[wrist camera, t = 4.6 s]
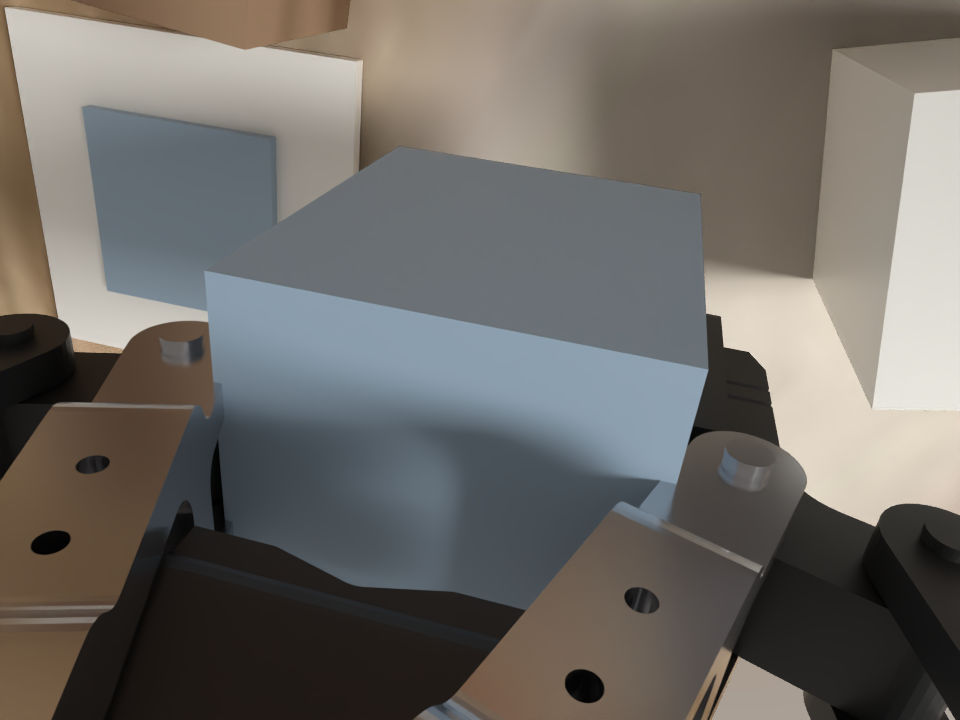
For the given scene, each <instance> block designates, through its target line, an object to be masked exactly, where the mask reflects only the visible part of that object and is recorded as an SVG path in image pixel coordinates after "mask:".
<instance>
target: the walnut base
mask: <svg viewBox="0 0 960 720" xmlns="http://www.w3.org/2000/svg"><path fill="white" fill-rule="evenodd" d="M73 1H76V2H80V3H83V4H87V5H90V6H94V7H97V8H101V9H104V10H108V11H111V12H115V13H118V14H122V15H125V16H129V17H132V18H135V19H139V20H142V21H146V22H149V23H153V24H156V25H160V26H163V27H167V28H170V29H174V30H177V31H181V32H184V33H188V34H191V35H195V36H198V37H202V38H205V39H209V40H212V41H216V42H219V43H222V44H226V45H229V46H233V47H236V48H240V49H243V50H247V49H252V48H256V47H261V46H266V45H270V44H275V43H280V42H284V41H289V40H294V39H298V38H303V37H307V36H312V35H317V34H321V33H326V32H331V31H335V30H340V29H345V28H347V23H348V15H349V7H350V0H73Z"/></svg>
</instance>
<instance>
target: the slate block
mask: <svg viewBox="0 0 960 720" xmlns="http://www.w3.org/2000/svg"><path fill="white" fill-rule="evenodd" d="M204 276H205V288H206V300H207V312H208V324H209V336H210V348H211V360H212V372H213V382H217V383H222V391H223V404H224V417H225V418H224V422H223V425H222V428H221V431H220V434H219V437H218V444H219V456H220V468H221V480H222V492H223V504H224V516H225V520H228V521H232V522H233V533H234V536H238V537H242V538H246V539H250V540H254V541H257V542H261V543H265V544H269V545H273V546H277V547H279V548H280V549H282V550H284V551H286V552H288V553H290V554H292V555H294V556H296V557H298V558H300V559H302V560H304V561H306V562H308V563H309V564H311V565H313V566H315V567H317V568H319V569H321V570H323V571H325V572H327V573H329V574H331V575H333V576H335V577H337V578H338V579H340V580H342V581H344V582H346V583H349V584H351V585H355V586H361V587H375V588H394V589H413V590H431V591H450V592H457V593H461V594H465V595H469V596H473V597H477V598H480V599H484V600H488V601H492V602H496V603H500V604H504V605H508V606H512V607H516V608H520V609H523V610H527V609H528V608H529V607H530V605H531V604H532V603H533V602H534V601H535V599H536V598H537V597H538V596H539V595H540V594H541V592H542V591H543V590H544V589H545V588H546V586H547V585H548V584H549V583H550V582H551V581H552V579H553V578H554V577H555V576H556V575H557V573H558V572H559V571H560V570H561V569H562V568H563V566H564V565H565V564H566V563H567V562H568V560H569V559H570V558H571V557H572V556H573V555H574V553H575V552H576V551H577V550H578V549H579V547H580V546H581V545H582V544H583V543H584V542H585V540H586V539H587V538H588V537H589V536H590V534H591V533H592V532H593V531H594V530H595V529H596V527H597V526H598V525H599V524H600V523H601V521H602V520H603V519H604V518H605V517H606V516H607V514H608V513H609V512H610V511H611V510H612V509H613V508H614V507H615V505H617V504H618V503H619V502H622V501H623V502H626V503H628V504H631V505H633V506H635V507H637V508H639V507H640V506H641V504H642V503H643V502H644V501H645V499H646V498H647V497H648V496H649V494H650V493H651V492H652V491H653V489H654V488H655V487H656V486H657V484H658V483H659V482H660V481H665V482H669V483H674V484H677V481H678V477H679V474H680V470H681V466H682V463H683V459H684V456H685V452H686V448H687V445H688V441H689V438H690V434H691V430H692V427H693V423H694V420H695V416H696V412H697V409H698V405H699V402H700V398H701V395H702V391H703V387H704V384H705V380H706V377H707V373H708V349H707V327H706V305H705V283H704V260H703V238H702V216H701V194H697V193H690V192H684V191H678V190H672V189H665V188H659V187H653V186H647V185H640V184H634V183H628V182H622V181H615V180H609V179H603V178H597V177H590V176H584V175H578V174H572V173H565V172H559V171H553V170H547V169H540V168H534V167H528V166H522V165H515V164H509V163H503V162H497V161H490V160H484V159H478V158H472V157H465V156H459V155H453V154H447V153H440V152H434V151H428V150H422V149H415V148H409V147H403V146H398V147H397V148H395V149H394V150H392V151H391V152H389V153H387V154H386V155H384V156H383V157H381V158H380V159H378V160H376V161H375V162H373V163H372V164H370V165H369V166H367V167H366V168H364V169H362V170H361V171H359V172H358V173H356V174H355V175H353V176H351V177H350V178H348V179H347V180H345V181H344V182H342V183H340V184H339V185H337V186H336V187H334V188H333V189H331V190H329V191H328V192H326V193H325V194H323V195H322V196H320V197H319V198H317V199H315V200H314V201H312V202H311V203H309V204H308V205H306V206H304V207H303V208H301V209H300V210H298V211H297V212H295V213H293V214H292V215H290V216H289V217H287V218H286V219H284V220H282V221H281V222H279V223H278V224H276V225H275V226H273V227H272V228H270V229H268V230H267V231H265V232H264V233H262V234H261V235H259V236H257V237H256V238H254V239H253V240H251V241H250V242H248V243H246V244H245V245H243V246H242V247H240V248H239V249H237V250H235V251H234V252H232V253H231V254H229V255H228V256H226V257H225V258H223V259H221V260H220V261H218V262H217V263H215V264H214V265H212V266H210V267H209V268H207V269H206V270H204Z"/></svg>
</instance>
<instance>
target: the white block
mask: <svg viewBox="0 0 960 720" xmlns="http://www.w3.org/2000/svg"><path fill="white" fill-rule="evenodd" d="M813 281H814V283H815V285H816V287H817V290H818V292H819V294H820V296H821V298H822V301H823V303H824V305H825V307H826V309H827V312H828V314H829V316H830V318H831V320H832V323H833V325H834V327H835V329H836V331H837V334H838V336H839V338H840V340H841V342H842V344H843V347H844V349H845V351H846V353H847V355H848V358H849V360H850V362H851V364H852V366H853V369H854V371H855V373H856V375H857V377H858V380H859V382H860V384H861V386H862V388H863V391H864V393H865V395H866V397H867V399H868V401H869V404H870V406H871V408H872V410H953V411H960V38H950V39H939V40H928V41H917V42H906V43H895V44H884V45H873V46H862V47H851V48H840V49H833V51H832V63H831V74H830V86H829V97H828V109H827V120H826V132H825V143H824V155H823V166H822V178H821V189H820V201H819V212H818V224H817V235H816V247H815V258H814V270H813Z"/></svg>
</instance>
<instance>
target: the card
mask: <svg viewBox="0 0 960 720" xmlns="http://www.w3.org/2000/svg"><path fill="white" fill-rule="evenodd" d="M5 13H6V18H7V24H8V30H9V36H10V42H11V47H12V53H13V59H14V65H15V71H16V76H17V82H18V88H19V94H20V99H21V105H22V111H23V117H24V123H25V128H26V134H27V140H28V146H29V152H30V157H31V163H32V169H33V175H34V180H35V186H36V192H37V198H38V204H39V209H40V215H41V221H42V227H43V233H44V238H45V244H46V250H47V256H48V261H49V267H50V273H51V279H52V285H53V290H54V296H55V302H56V308H57V314H58V319H60V320H62V321H64V322H65V323H66V324H67V325H68V327H69V329H70V334H71V338H75V339H80V340H84V341H89V342H93V343H98V344H103V345H107V346H112V347H116V348H121V349H125V347H126V345H127V344H128V342H129V341H130V339H131V338H132V337H133V336H135V335H136V334H137V333H139V332H141V331H142V330H145V329H147V328H149V327H152V326H155V325H159V324H163V323H168V322H175V321H203V322H208V312H207V300H206V288H205V276H204V270H206V269H207V268H209V267H210V266H212V265H214V264H215V263H217V262H218V261H220V260H221V259H223V258H225V257H226V256H228V255H229V254H231V253H232V252H234V251H235V250H237V249H239V248H240V247H242V246H243V245H245V244H246V243H248V242H250V241H251V240H253V239H254V238H256V237H257V236H259V235H261V234H262V233H264V232H265V231H267V230H268V229H270V228H272V227H273V226H275V225H276V224H278V223H279V222H281V221H282V220H284V219H286V218H287V217H289V216H290V215H292V214H293V213H295V212H297V211H298V210H300V209H301V208H303V207H304V206H306V205H308V204H309V203H311V202H312V201H314V200H315V199H317V198H319V197H320V196H322V195H323V194H325V193H326V192H328V191H329V190H331V189H333V188H334V187H336V186H337V185H339V184H340V183H342V182H344V181H345V180H347V179H348V178H350V177H351V176H353V175H355V174H356V173H358V172H359V154H360V125H361V97H362V69H363V60H362V59H355V58H349V57H342V56H336V55H329V54H323V53H316V52H310V51H303V50H297V49H290V48H284V47H277V46H271V45H266V46H261V47H256V48H252V49H247V50H243V49H240V48H236V47H233V46H229V45H226V44H222V43H219V42H216V41H212V40H209V39H205V38H202V37H198V36H195V35H191V34H188V33H184V32H180V31H173V30H167V29H160V28H154V27H147V26H141V25H134V24H128V23H121V22H115V21H108V20H102V19H96V18H89V17H83V16H76V15H70V14H63V13H57V12H50V11H44V10H37V9H31V8H24V7H18V6H15V7H5Z"/></svg>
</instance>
